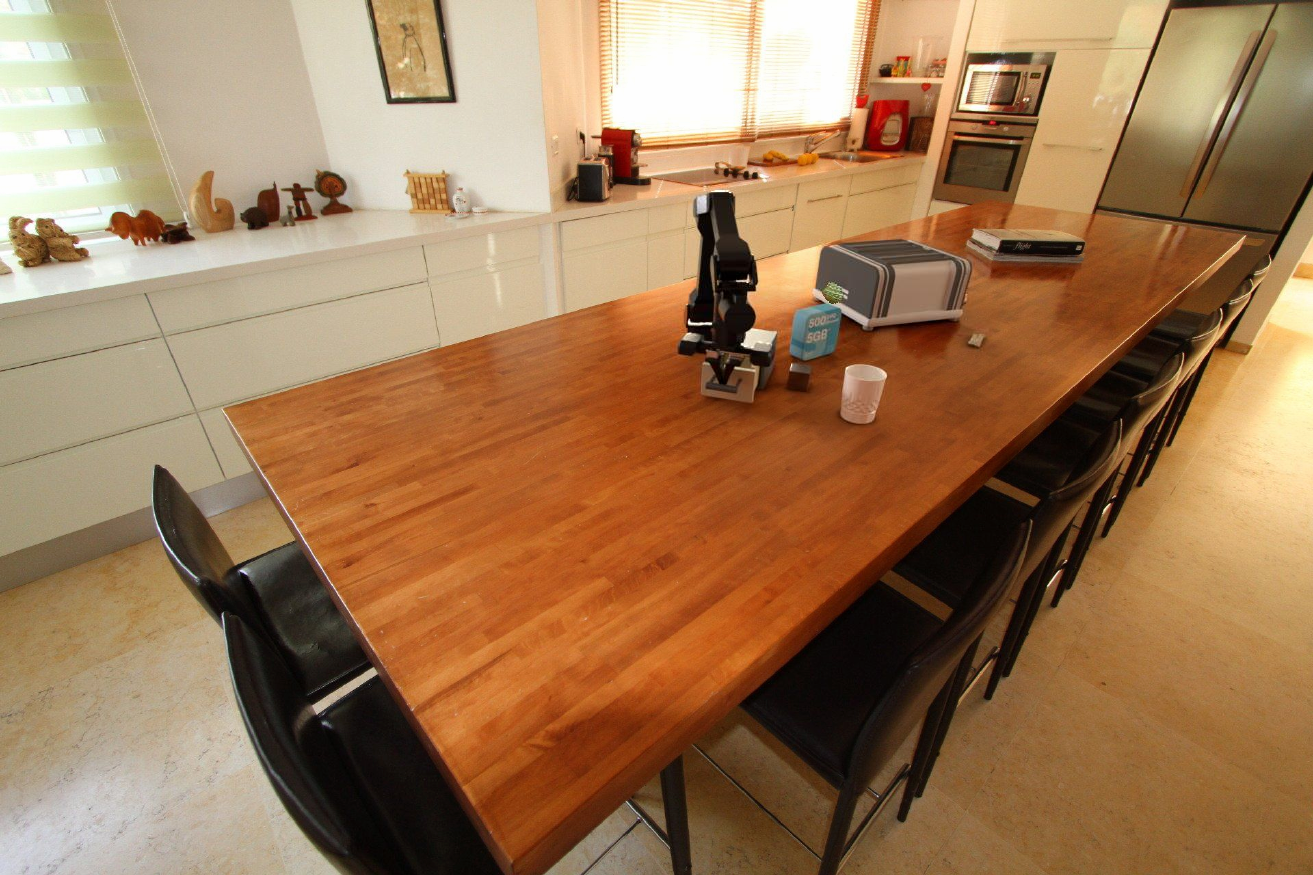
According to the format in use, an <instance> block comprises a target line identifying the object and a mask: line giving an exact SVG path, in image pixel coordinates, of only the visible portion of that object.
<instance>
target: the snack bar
mask: <svg viewBox="0 0 1313 875" xmlns="http://www.w3.org/2000/svg"><path fill="white" fill-rule="evenodd" d="M985 338H986V334H985V333H973V334H972V336H971V338H970V340H969V341H968V342H967V344H969V345H971V346H973V347H975V348H980V347H981V344H982V342H983V340H984V339H985Z"/></svg>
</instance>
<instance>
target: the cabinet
mask: <svg viewBox="0 0 1313 875" xmlns="http://www.w3.org/2000/svg"><path fill="white" fill-rule="evenodd" d="M778 334H779V332H778V331H775V330H767V329H760V328H753V327H752V328H751V329H750V330H749V331H747V332H746V339H745V340H744V342H743V343H741V346H746V347H753V346H754V345H755V343H756V342H760V343H768V344H773V345H774V347H775V352H776V350H777V341H778ZM775 359H776V356H775V357H774V359H773V361H772V363H771V365H770V367H762V369H761V379H760V381H759V383H758V385H757V387H756V389H755V390H760V391H761V390H762V391H763V390H764V387H765V386H766V384H767V382H768V380H769V377H770V375H771V373H772V371H773V369H774V366H775Z"/></svg>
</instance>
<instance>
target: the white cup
mask: <svg viewBox="0 0 1313 875" xmlns="http://www.w3.org/2000/svg"><path fill="white" fill-rule="evenodd" d="M887 376H888V374H887V372H886V371H885V370H883V369H882V368H880V367H877V366H874V365H870V364H852V365H848V366H847V367H846V368H845V370H844V378H843V383H842V392H841V401H840V402H841V405H840V411H839V412H840V413H839V414H840V417H841V418H842V419H843V420H844V421H847V422H849V423H852V424H857V425H866V424H869V423H872V422H873V421H874V420H875V417H876V413H877V410H878V408H879V404H880V401H881V398H882V394H883V391H884V388H885V384H886V380H887Z"/></svg>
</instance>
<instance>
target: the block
mask: <svg viewBox="0 0 1313 875" xmlns="http://www.w3.org/2000/svg"><path fill="white" fill-rule="evenodd" d="M812 371H813V365H809V364H800V363H795V362H792V363H791V366H790V368H789V371H788V375H787V376H788V378H787V385H786V389H787V390H791V391H797V392H805V393H807V392H808V390H809V387H810V384H811V377H812Z"/></svg>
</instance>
